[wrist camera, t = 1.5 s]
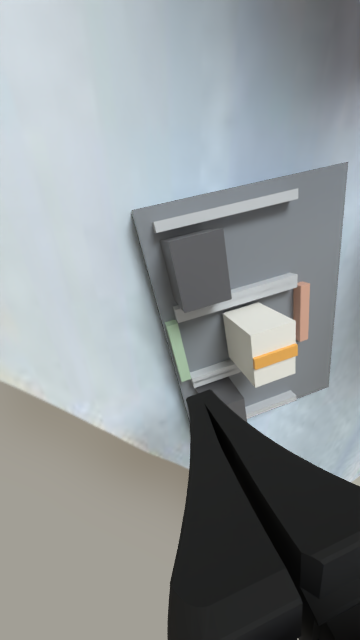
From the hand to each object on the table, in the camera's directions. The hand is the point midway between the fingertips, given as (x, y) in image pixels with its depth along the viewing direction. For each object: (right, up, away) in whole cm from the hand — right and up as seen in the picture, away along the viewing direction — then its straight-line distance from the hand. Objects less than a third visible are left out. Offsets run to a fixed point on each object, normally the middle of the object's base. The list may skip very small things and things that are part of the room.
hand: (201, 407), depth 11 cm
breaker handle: (+4, +4, +6) cm, 8 cm away
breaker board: (+5, +5, +8) cm, 11 cm away
